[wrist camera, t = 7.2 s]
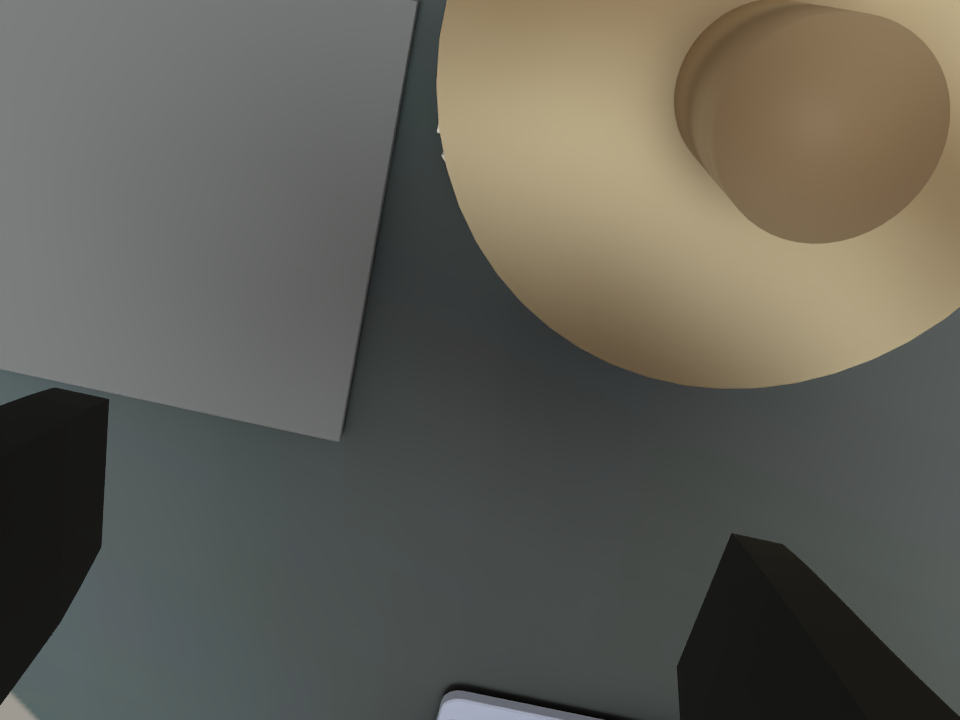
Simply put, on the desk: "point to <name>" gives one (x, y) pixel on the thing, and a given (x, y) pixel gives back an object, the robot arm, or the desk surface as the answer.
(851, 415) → the desk surface
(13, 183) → the mat
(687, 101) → the lid
